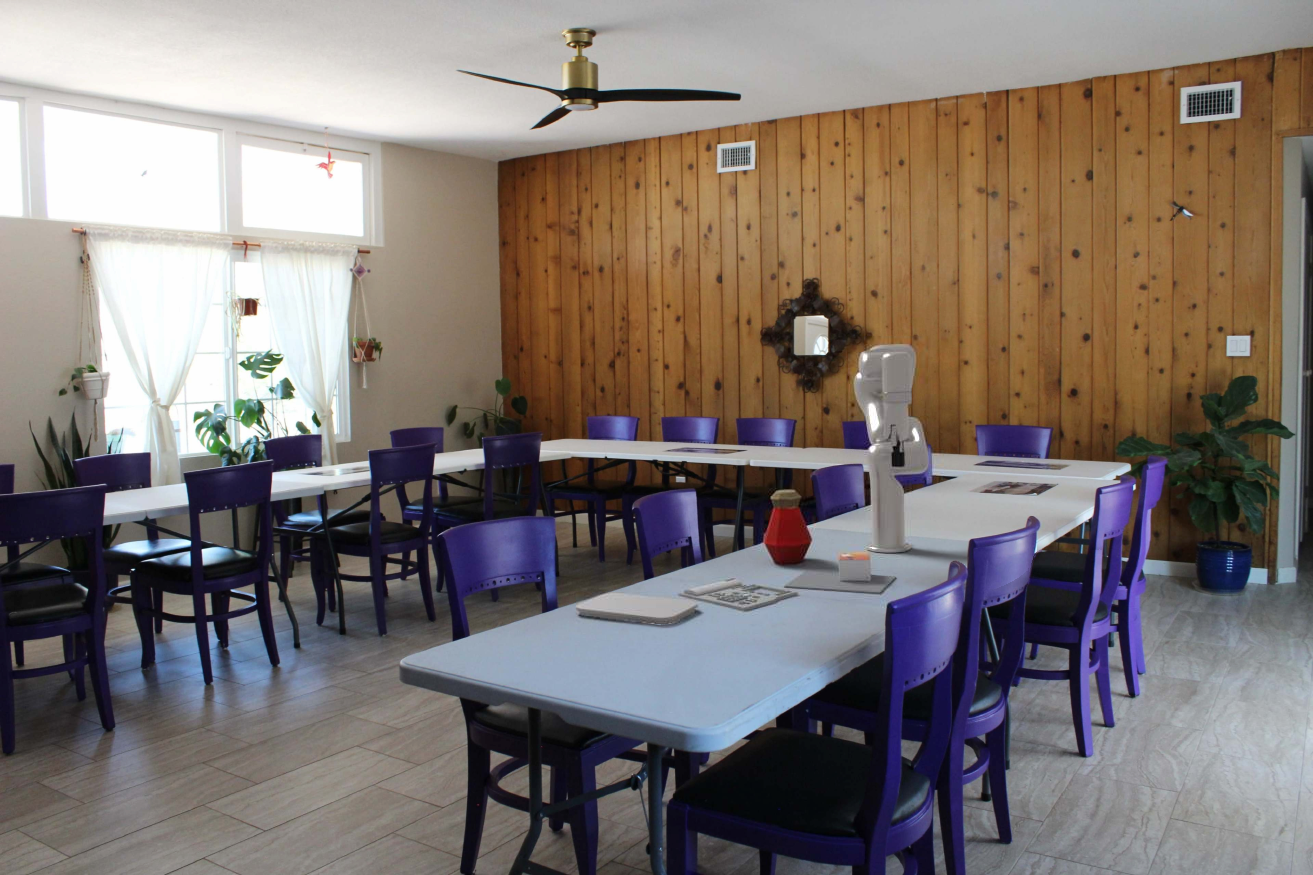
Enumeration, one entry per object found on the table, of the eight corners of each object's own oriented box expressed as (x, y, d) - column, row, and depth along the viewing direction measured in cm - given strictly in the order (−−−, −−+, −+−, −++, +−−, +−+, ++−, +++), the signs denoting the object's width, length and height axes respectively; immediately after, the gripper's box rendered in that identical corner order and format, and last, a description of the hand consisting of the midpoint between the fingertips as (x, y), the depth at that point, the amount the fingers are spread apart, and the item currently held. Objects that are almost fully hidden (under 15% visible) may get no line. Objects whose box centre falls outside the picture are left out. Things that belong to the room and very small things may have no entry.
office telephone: (676, 587, 242) (733, 574, 255) (677, 598, 242) (734, 584, 255) (743, 601, 224) (801, 586, 237) (744, 613, 224) (802, 597, 237)
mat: (805, 572, 262) (805, 571, 262) (895, 577, 252) (895, 576, 252) (784, 587, 246) (784, 585, 246) (879, 593, 235) (879, 592, 235)
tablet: (668, 629, 213) (668, 618, 213) (570, 617, 226) (570, 607, 226) (703, 611, 227) (702, 601, 227) (609, 601, 240) (608, 592, 240)
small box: (869, 551, 257) (871, 559, 247) (870, 572, 257) (871, 581, 247) (838, 551, 258) (838, 559, 248) (839, 572, 259) (839, 581, 248)
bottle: (799, 568, 267) (797, 495, 266) (754, 564, 274) (752, 494, 273) (821, 557, 281) (819, 488, 279) (778, 554, 288) (776, 486, 286)
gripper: (889, 397, 271) (890, 463, 272) (876, 400, 257) (877, 469, 259) (916, 397, 268) (917, 463, 269) (905, 399, 254) (906, 470, 256)
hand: (898, 466), depth 264 cm, fingers closed
